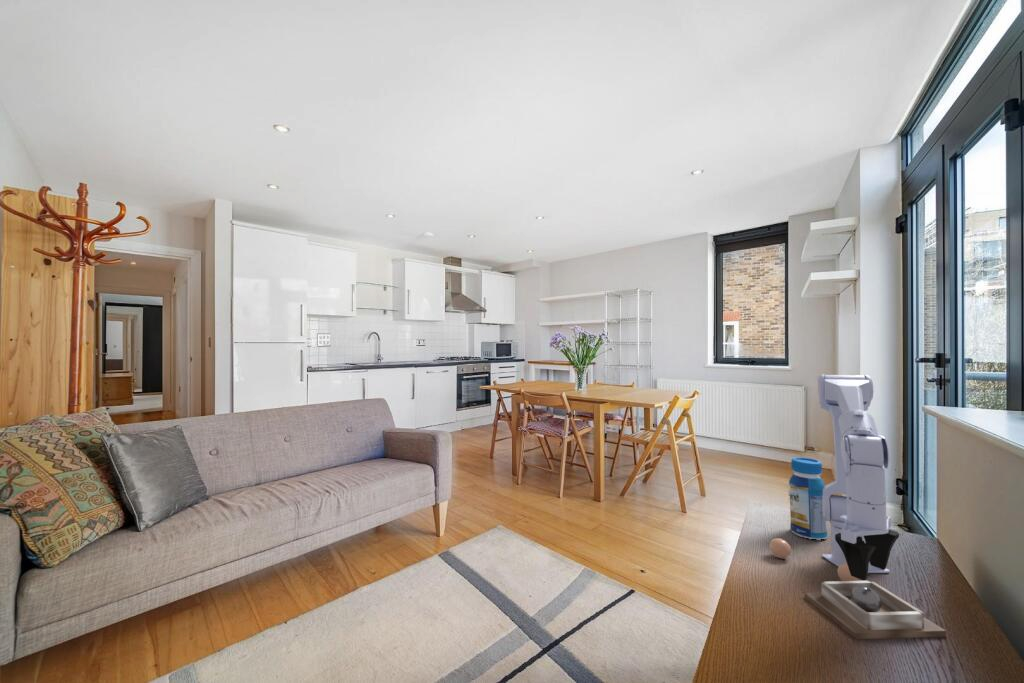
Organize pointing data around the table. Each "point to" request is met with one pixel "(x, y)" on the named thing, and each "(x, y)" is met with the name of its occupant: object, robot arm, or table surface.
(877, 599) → the steel ball
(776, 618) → the table surface
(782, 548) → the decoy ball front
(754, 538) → the table surface
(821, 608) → the holder board
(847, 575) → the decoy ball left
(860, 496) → the robot arm
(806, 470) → the beverage bottle
